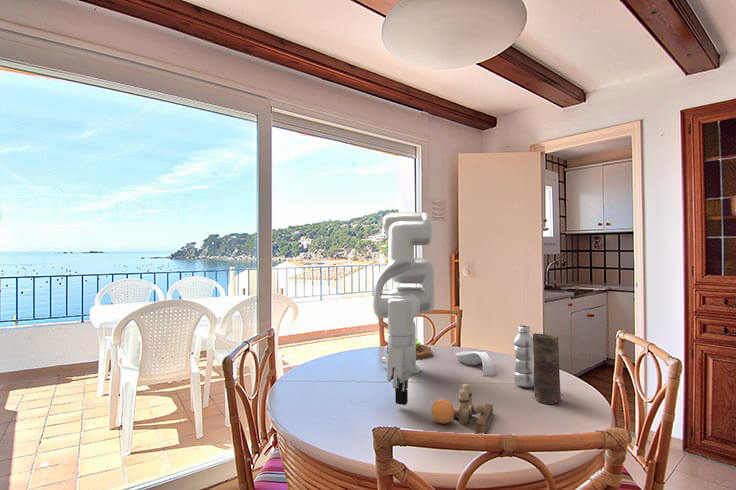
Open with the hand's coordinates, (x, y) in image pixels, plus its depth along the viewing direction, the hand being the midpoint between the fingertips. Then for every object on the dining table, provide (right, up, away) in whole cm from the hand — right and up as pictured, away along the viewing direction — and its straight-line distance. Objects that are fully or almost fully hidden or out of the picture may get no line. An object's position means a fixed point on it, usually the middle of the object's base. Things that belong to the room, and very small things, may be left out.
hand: (401, 403), depth 116 cm
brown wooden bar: (+21, -1, -10) cm, 24 cm away
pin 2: (+16, -1, -10) cm, 19 cm away
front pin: (+13, 0, -6) cm, 15 cm away
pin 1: (+18, -1, -6) cm, 19 cm away
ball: (+10, +2, -10) cm, 14 cm away
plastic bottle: (+43, -2, +17) cm, 46 cm away
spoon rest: (+33, -2, +40) cm, 52 cm away
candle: (+45, -1, +5) cm, 45 cm away
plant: (+9, -3, +61) cm, 61 cm away
